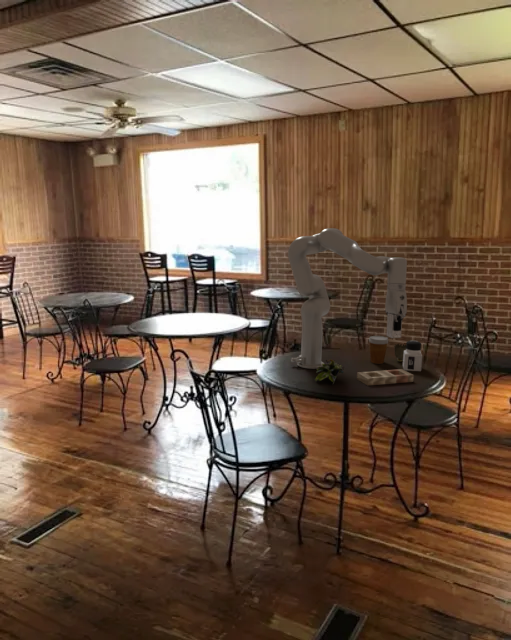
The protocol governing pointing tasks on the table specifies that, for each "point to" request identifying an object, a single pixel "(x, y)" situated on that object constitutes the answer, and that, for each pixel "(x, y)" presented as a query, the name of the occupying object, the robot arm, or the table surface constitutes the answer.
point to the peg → (392, 327)
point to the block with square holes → (384, 377)
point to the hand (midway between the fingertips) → (394, 329)
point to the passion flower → (329, 370)
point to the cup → (399, 351)
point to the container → (412, 356)
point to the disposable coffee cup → (378, 348)
